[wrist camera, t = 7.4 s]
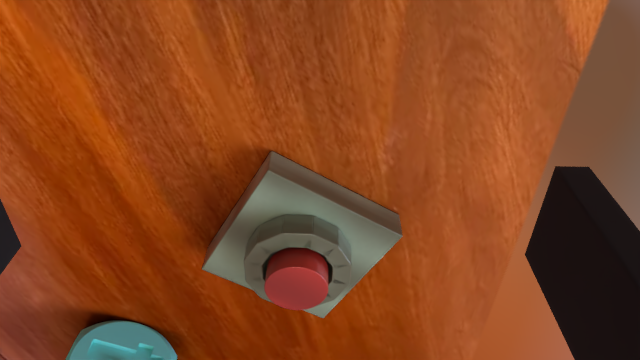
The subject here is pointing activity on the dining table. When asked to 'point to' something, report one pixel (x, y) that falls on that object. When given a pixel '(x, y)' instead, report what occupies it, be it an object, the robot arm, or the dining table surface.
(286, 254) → the button
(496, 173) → the dining table surface
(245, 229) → the button block
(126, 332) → the decorative dice
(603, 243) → the robot arm
